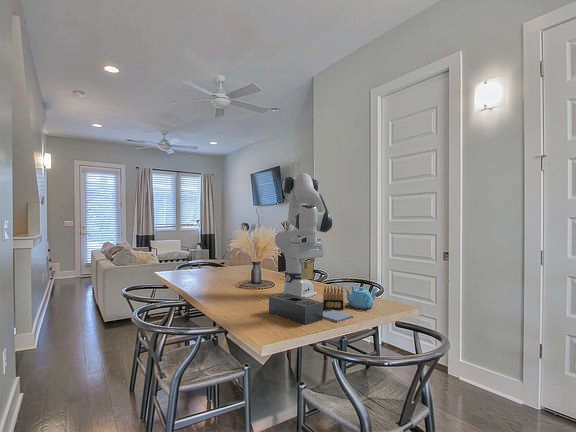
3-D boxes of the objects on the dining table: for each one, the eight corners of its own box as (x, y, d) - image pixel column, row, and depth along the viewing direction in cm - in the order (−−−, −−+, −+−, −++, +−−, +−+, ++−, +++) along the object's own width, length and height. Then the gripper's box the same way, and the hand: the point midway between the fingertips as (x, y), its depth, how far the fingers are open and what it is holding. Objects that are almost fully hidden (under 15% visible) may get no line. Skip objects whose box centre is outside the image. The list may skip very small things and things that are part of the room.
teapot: (370, 311, 164) (371, 291, 164) (342, 307, 171) (342, 287, 171) (377, 305, 177) (377, 286, 177) (350, 301, 184) (351, 283, 184)
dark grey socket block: (286, 308, 165) (286, 292, 166) (322, 319, 148) (323, 302, 148) (268, 313, 157) (269, 296, 157) (304, 325, 140) (305, 306, 140)
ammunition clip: (322, 309, 166) (323, 286, 166) (322, 308, 167) (323, 285, 168) (343, 310, 166) (344, 286, 166) (343, 309, 168) (343, 285, 168)
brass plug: (306, 277, 156) (307, 260, 156) (312, 278, 153) (313, 261, 153) (300, 278, 153) (301, 261, 153) (306, 279, 150) (307, 262, 150)
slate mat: (332, 312, 162) (332, 309, 162) (353, 317, 153) (353, 315, 153) (317, 316, 153) (317, 314, 153) (337, 322, 145) (337, 320, 145)
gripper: (317, 237, 163) (316, 265, 163) (287, 238, 149) (287, 268, 149) (327, 238, 158) (326, 266, 158) (297, 239, 144) (296, 270, 144)
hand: (307, 267), depth 153 cm, fingers closed on brass plug, 4 cm apart
